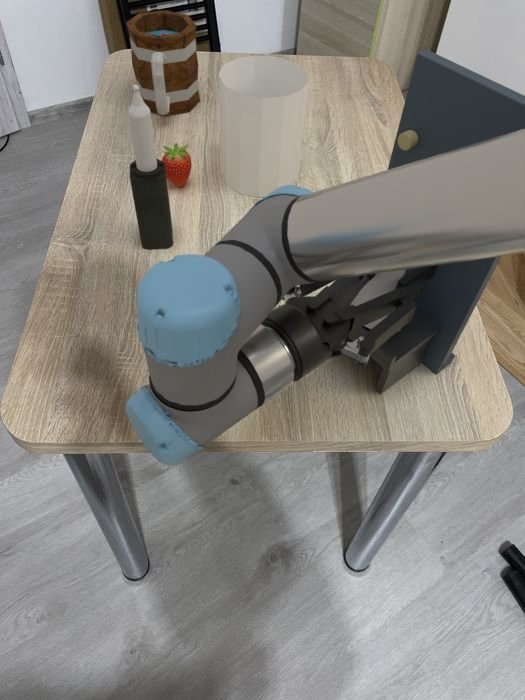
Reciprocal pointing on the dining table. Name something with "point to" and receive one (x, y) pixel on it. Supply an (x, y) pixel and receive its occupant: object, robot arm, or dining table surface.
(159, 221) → the candle
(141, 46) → the mug
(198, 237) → the dining table surface
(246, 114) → the container
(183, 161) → the fruit
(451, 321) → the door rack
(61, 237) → the dining table surface
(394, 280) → the flask
